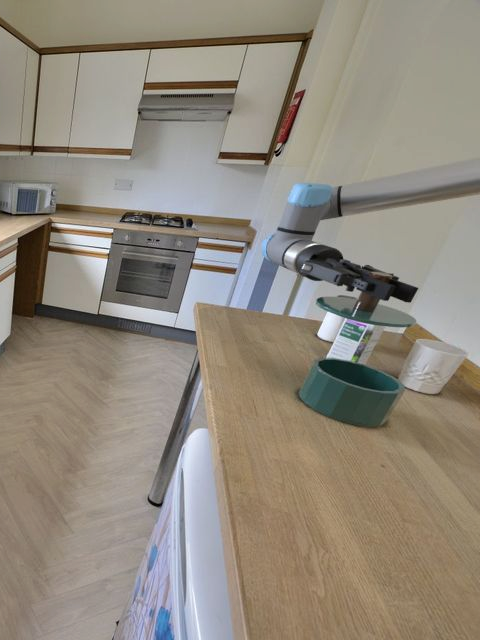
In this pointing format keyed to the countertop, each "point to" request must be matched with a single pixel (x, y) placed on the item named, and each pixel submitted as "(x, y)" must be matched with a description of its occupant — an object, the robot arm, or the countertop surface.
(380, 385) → the bowl
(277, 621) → the countertop surface
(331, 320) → the can
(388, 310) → the bowl lid
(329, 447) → the countertop surface
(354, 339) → the syrup box
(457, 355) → the white cup
